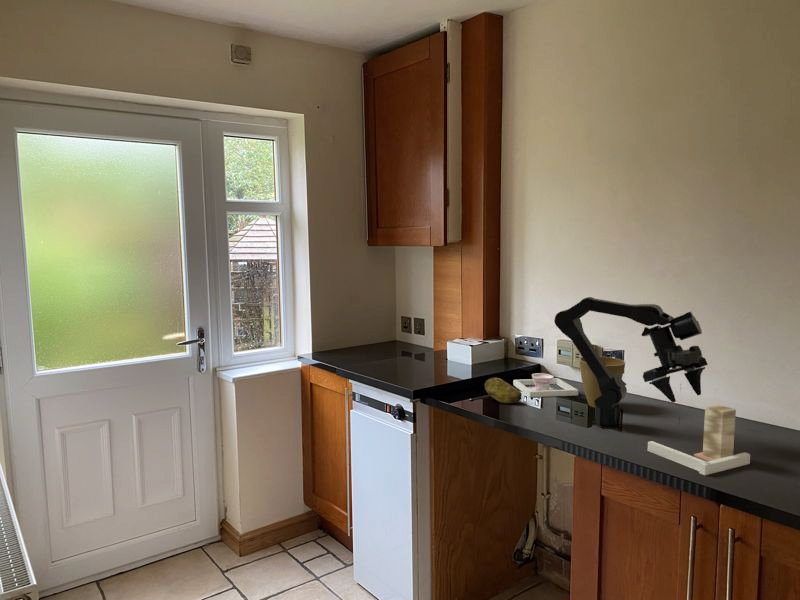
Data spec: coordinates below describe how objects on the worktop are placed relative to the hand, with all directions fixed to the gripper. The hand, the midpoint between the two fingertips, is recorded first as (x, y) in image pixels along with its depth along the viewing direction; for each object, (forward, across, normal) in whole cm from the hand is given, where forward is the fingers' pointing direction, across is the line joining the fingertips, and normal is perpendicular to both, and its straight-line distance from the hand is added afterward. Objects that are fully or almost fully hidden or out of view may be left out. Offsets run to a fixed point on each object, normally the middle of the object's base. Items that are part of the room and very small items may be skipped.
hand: (686, 398), depth 165 cm
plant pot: (-5, 0, +40) cm, 40 cm away
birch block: (+16, -3, -6) cm, 18 cm away
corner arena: (+15, -8, -4) cm, 17 cm away
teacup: (-16, -8, +60) cm, 63 cm away
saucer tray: (-17, -6, +61) cm, 64 cm away
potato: (-16, -29, +53) cm, 62 cm away
